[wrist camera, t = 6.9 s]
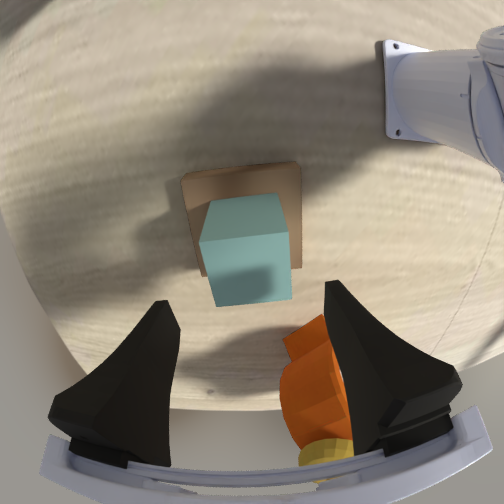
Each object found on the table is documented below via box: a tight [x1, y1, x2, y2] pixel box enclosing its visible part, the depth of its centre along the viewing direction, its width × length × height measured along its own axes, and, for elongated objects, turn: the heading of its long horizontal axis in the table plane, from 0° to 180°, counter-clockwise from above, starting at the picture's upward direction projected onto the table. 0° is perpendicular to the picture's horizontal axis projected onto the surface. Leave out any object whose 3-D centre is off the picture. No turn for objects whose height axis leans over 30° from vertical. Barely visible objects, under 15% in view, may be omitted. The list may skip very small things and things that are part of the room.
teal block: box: [199, 193, 292, 307], centre depth 17 cm, size 4×4×6 cm
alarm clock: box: [280, 314, 354, 484], centre depth 22 cm, size 13×6×20 cm, turn 45°
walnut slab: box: [181, 162, 302, 277], centre depth 21 cm, size 8×8×2 cm
